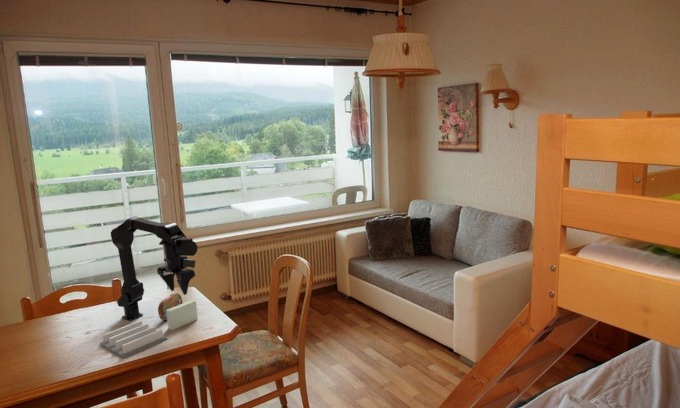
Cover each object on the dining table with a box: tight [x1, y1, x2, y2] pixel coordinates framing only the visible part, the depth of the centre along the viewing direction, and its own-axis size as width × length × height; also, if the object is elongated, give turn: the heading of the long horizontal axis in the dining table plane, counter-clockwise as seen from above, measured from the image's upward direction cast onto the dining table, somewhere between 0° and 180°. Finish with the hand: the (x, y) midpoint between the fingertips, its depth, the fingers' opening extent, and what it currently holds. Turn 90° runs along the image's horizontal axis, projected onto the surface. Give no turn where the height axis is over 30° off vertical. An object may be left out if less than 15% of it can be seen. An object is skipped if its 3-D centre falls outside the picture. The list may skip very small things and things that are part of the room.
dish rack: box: [99, 320, 168, 359], centre depth 179 cm, size 18×17×4 cm
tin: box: [157, 293, 183, 321], centre depth 201 cm, size 15×3×8 cm, turn 168°
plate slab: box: [166, 299, 199, 331], centre depth 192 cm, size 2×12×8 cm, turn 141°
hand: (179, 292), depth 190 cm, fingers open, 9 cm apart
